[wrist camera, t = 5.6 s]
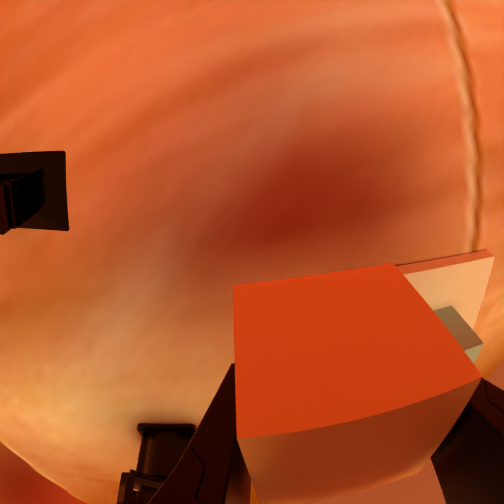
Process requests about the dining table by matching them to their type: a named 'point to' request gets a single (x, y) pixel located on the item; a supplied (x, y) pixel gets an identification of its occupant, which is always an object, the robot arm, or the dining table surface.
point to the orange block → (342, 382)
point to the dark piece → (33, 191)
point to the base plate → (453, 282)
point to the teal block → (460, 331)
